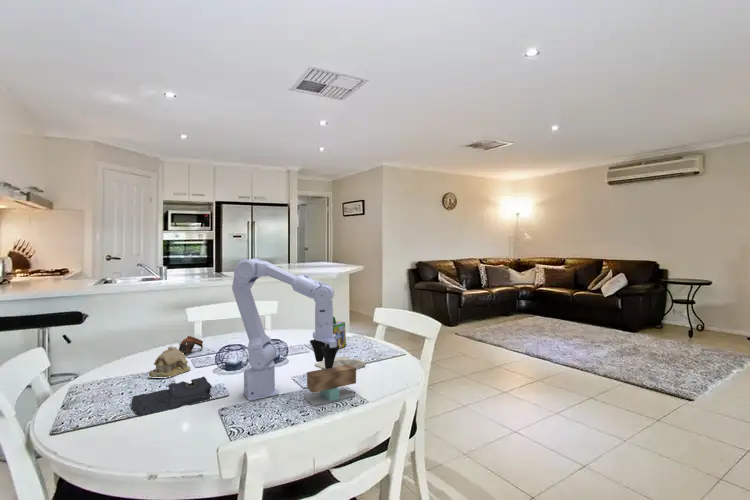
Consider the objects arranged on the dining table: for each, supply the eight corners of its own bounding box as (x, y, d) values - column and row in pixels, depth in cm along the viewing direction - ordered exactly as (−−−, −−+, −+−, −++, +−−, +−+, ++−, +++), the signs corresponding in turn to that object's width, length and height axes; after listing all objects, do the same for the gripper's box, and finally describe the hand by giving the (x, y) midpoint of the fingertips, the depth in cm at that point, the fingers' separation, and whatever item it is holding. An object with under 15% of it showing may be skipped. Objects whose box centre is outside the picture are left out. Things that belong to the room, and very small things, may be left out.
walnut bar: (312, 392, 117) (312, 376, 117) (307, 387, 121) (306, 372, 121) (356, 383, 125) (356, 367, 125) (349, 378, 129) (349, 364, 129)
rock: (303, 369, 150) (320, 376, 138) (303, 357, 151) (321, 363, 139) (349, 363, 162) (370, 369, 150) (350, 352, 163) (370, 357, 151)
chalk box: (346, 346, 181) (346, 315, 180) (334, 351, 173) (334, 318, 172) (330, 343, 186) (330, 313, 185) (318, 348, 178) (318, 316, 177)
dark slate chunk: (128, 402, 121) (128, 387, 120) (203, 385, 135) (202, 371, 134) (136, 420, 109) (135, 403, 109) (216, 399, 123) (216, 384, 123)
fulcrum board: (313, 406, 116) (313, 395, 116) (303, 397, 122) (303, 386, 122) (354, 396, 123) (354, 385, 123) (343, 388, 130) (343, 378, 130)
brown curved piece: (176, 352, 175) (185, 334, 178) (197, 359, 178) (205, 342, 181) (175, 352, 164) (185, 333, 167) (197, 359, 167) (206, 341, 170)
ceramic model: (170, 366, 154) (169, 341, 154) (195, 368, 152) (195, 342, 152) (143, 379, 140) (142, 351, 140) (170, 380, 138) (169, 353, 138)
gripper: (345, 325, 120) (345, 368, 120) (326, 317, 132) (326, 356, 133) (324, 328, 116) (324, 372, 116) (306, 319, 129) (307, 360, 129)
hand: (324, 364), depth 124 cm, fingers open, 7 cm apart
